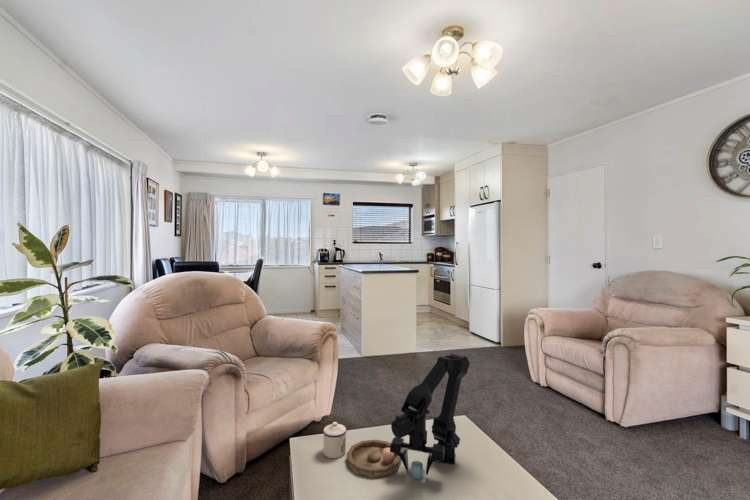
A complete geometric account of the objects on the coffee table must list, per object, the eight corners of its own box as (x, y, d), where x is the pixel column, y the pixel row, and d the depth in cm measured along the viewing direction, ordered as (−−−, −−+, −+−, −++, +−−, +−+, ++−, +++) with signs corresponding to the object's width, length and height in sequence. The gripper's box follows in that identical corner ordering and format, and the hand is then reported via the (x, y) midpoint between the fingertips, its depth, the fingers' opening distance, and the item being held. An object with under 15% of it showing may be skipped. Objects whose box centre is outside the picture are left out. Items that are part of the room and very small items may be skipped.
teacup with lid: (346, 458, 134) (347, 427, 134) (322, 459, 133) (322, 429, 133) (345, 441, 146) (345, 413, 146) (323, 443, 145) (323, 414, 145)
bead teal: (422, 472, 126) (422, 461, 126) (422, 479, 122) (422, 467, 122) (411, 471, 126) (411, 460, 127) (411, 478, 123) (411, 466, 123)
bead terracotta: (394, 459, 133) (394, 448, 133) (392, 465, 129) (392, 454, 129) (384, 457, 134) (384, 446, 134) (381, 463, 130) (381, 452, 130)
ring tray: (405, 451, 140) (405, 444, 140) (393, 482, 120) (393, 474, 120) (357, 442, 145) (357, 436, 145) (339, 471, 126) (339, 464, 126)
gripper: (446, 421, 129) (446, 464, 129) (396, 414, 135) (396, 455, 135) (443, 436, 119) (443, 483, 119) (389, 428, 124) (389, 473, 124)
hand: (417, 472), depth 124 cm, fingers open, 7 cm apart
